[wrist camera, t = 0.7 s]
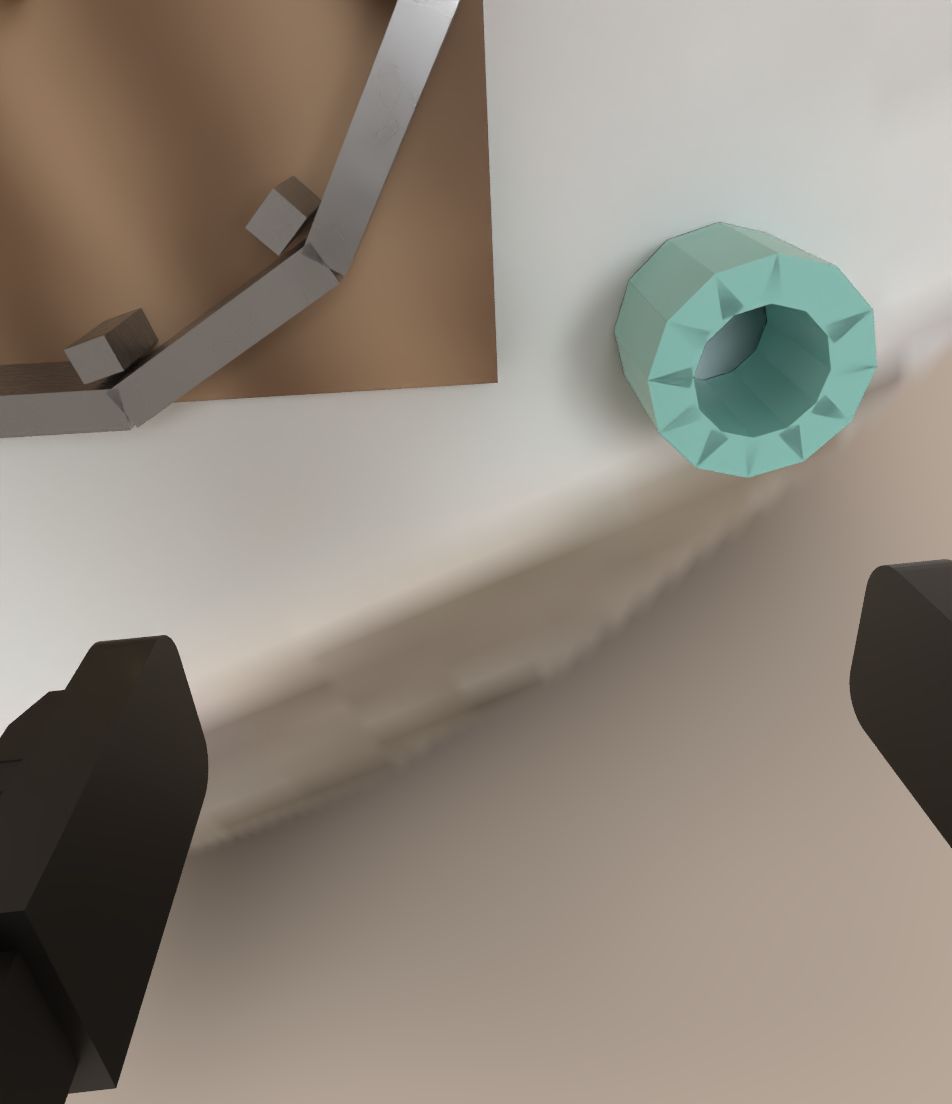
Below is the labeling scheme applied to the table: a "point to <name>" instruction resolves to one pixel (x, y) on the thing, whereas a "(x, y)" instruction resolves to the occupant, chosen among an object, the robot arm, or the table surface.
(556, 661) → the table surface
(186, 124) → the carrier plate
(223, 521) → the table surface
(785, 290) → the teal short hollow cylinder
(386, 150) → the ring gear
